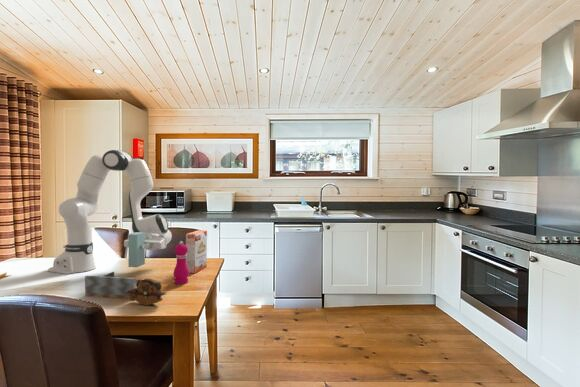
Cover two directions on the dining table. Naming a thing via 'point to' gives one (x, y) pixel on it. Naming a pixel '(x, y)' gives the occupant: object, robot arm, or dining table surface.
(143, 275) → the dining table surface
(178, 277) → the pepper mill
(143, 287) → the wooden carving
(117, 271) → the dining table surface
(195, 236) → the cracker box
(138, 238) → the grey-green rectangular block
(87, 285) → the grey speckled box
